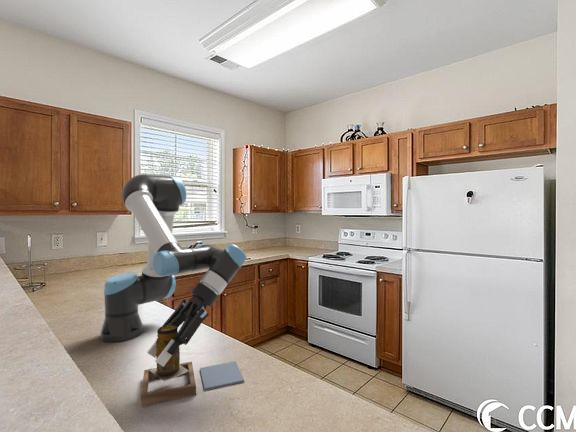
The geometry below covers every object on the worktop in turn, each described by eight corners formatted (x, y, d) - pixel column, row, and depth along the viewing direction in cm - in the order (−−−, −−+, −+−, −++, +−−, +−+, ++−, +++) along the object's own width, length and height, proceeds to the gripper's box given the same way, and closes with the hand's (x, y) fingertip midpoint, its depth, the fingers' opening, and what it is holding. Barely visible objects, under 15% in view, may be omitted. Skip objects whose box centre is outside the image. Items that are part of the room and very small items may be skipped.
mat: (200, 369, 97) (200, 367, 97) (235, 363, 101) (235, 361, 101) (204, 390, 86) (204, 388, 86) (244, 381, 90) (244, 379, 90)
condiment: (174, 361, 93) (173, 321, 93) (189, 371, 87) (188, 328, 87) (149, 371, 88) (148, 328, 87) (163, 382, 82) (162, 337, 82)
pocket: (144, 378, 93) (144, 370, 93) (192, 369, 97) (191, 361, 97) (140, 407, 79) (140, 397, 79) (196, 394, 84) (196, 385, 84)
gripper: (233, 302, 91) (178, 379, 80) (203, 290, 105) (153, 353, 95) (216, 287, 87) (156, 366, 77) (187, 276, 101) (134, 341, 91)
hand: (155, 359), depth 86 cm, fingers closed on condiment, 6 cm apart
